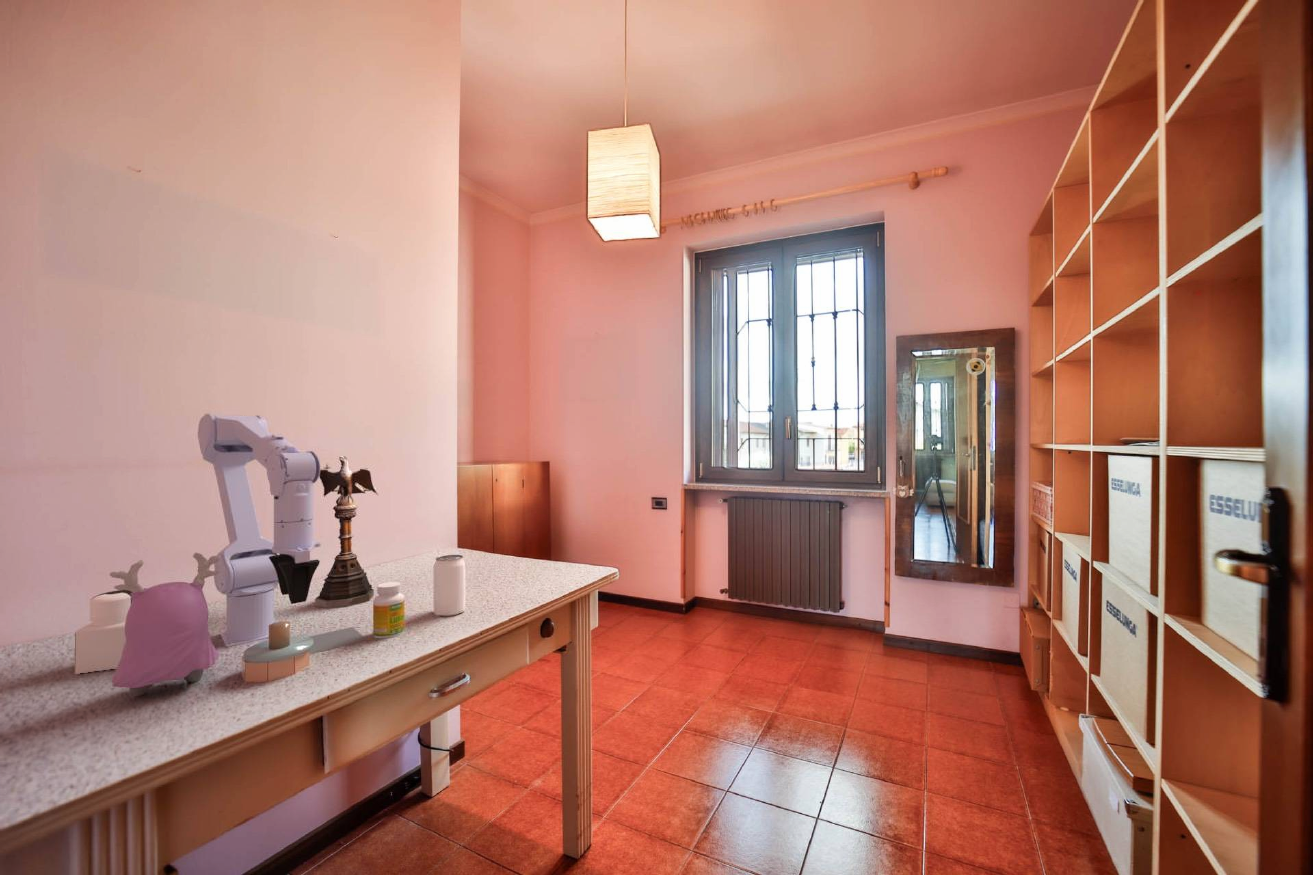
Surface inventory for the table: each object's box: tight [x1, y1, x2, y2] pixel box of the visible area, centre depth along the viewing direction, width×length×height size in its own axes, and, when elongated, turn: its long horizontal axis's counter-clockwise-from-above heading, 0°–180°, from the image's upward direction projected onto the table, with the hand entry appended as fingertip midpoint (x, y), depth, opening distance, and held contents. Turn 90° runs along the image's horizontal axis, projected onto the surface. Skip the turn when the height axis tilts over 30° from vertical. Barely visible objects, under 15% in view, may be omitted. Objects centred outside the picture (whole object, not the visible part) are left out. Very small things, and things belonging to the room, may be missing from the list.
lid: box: [242, 620, 313, 663], centre depth 85 cm, size 9×9×4 cm
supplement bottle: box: [372, 581, 406, 639], centre depth 100 cm, size 5×5×10 cm
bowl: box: [241, 651, 310, 683], centre depth 84 cm, size 8×8×3 cm
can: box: [432, 554, 466, 618], centre depth 114 cm, size 6×6×12 cm
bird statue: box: [314, 455, 379, 609], centre depth 126 cm, size 17×13×35 cm
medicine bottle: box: [74, 590, 132, 675], centre depth 88 cm, size 7×7×12 cm
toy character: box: [109, 552, 220, 698], centre depth 79 cm, size 12×10×20 cm
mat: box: [309, 626, 368, 656], centre depth 97 cm, size 10×10×1 cm
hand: (293, 597), depth 91 cm, fingers open, 7 cm apart
